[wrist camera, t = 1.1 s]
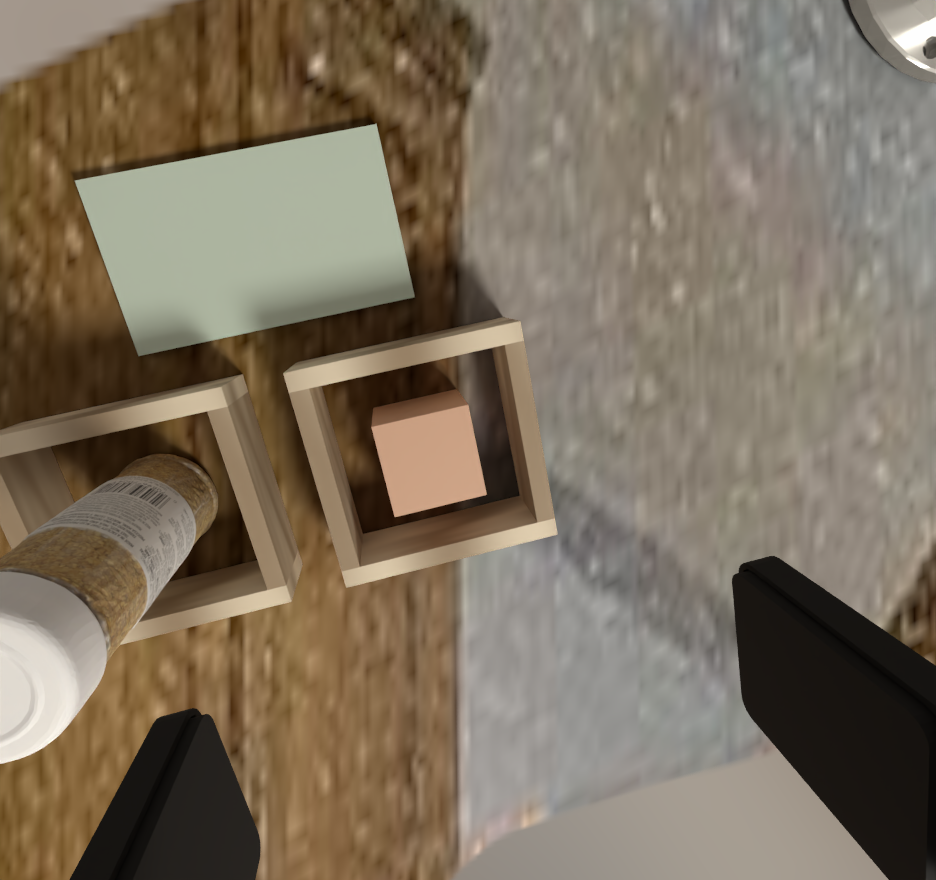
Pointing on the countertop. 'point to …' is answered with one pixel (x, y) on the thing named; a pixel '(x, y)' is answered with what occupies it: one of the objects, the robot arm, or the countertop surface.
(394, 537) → the box
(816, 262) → the countertop surface
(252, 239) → the mat
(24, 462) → the box
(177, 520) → the sprinkles bottle
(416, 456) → the terracotta cube
